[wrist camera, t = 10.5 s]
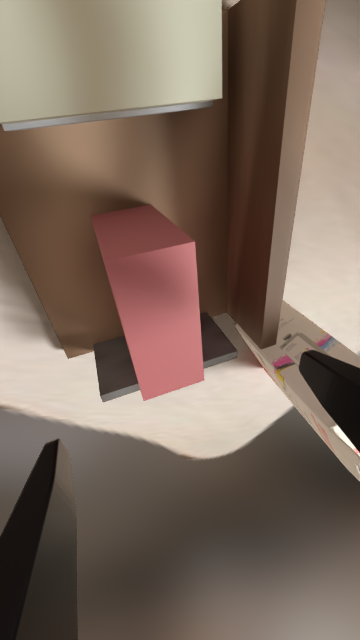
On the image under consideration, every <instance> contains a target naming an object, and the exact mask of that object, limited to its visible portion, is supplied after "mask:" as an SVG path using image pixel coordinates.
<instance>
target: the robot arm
mask: <svg viewBox="0 0 360 640" xmlns="http://www.w3.org/2000/svg"><path fill="white" fill-rule="evenodd" d="M299 372H300V374H301V375H302V377H303V378H304V380H305V381H306V383H307V384H308V386H309V387H310V389H311V390H312V392H313V393H314V395H315V396H316V398H317V399H318V401H319V402H320V404H321V405H322V407H323V408H324V409H325V410H326V412H327V413H328V414H329V415H330V417H331V418H332V419H333V420H334V422H335V423H336V424H337V425H338V427H339V428H340V429H341V430H342V432H343V433H344V434H345V435H346V436H347V438H348V439H349V440H350V441H351V443H352V444H353V445H354V446H355V448H356V449H357V450H358V451H359V453H360V368H359V367H356V366H354V365H351V364H349V363H346V362H344V361H341V360H339V359H336V358H334V357H331V356H329V355H326V354H323V353H321V352H318V351H316V350H308V351H305V352H303V353H302V354H301V358H300V362H299ZM76 516H77V515H76V500H75V492H74V485H73V477H72V468H71V459H70V455H69V452H68V450H67V449H66V447H65V446H64V444H63V442H62V441H61V440H60V439H55V440H52V441H49V442H47V443H46V444H45V445H44V447H43V449H42V451H41V453H40V455H39V457H38V459H37V461H36V463H35V465H34V467H33V469H32V471H31V473H30V475H29V478H28V480H27V482H26V484H25V486H24V488H23V490H22V492H21V494H20V496H19V498H18V500H17V502H16V504H15V506H14V508H13V510H12V513H11V514H10V517H9V519H8V521H7V523H6V525H5V527H4V529H3V531H2V533H1V535H0V640H78V615H77V614H78V612H77V611H78V610H77V517H76Z"/></svg>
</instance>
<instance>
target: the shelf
mask: <svg viewBox="0 0 360 640" xmlns="http://www.w3.org/2000/svg"><path fill="white" fill-rule="evenodd" d="M325 3H326V0H240V1H239V2H238V3H236V4H235V5H234V6H232V7H231V8H230V9H228V10H222V0H0V216H1V218H2V220H3V222H4V224H5V226H6V229H7V231H8V233H9V235H10V237H11V239H12V241H13V243H14V246H15V248H16V250H17V252H18V254H19V256H20V258H21V260H22V262H23V265H24V267H25V269H26V271H27V273H28V275H29V277H30V279H31V281H32V284H33V286H34V288H35V290H36V292H37V294H38V296H39V298H40V300H41V303H42V305H43V307H44V309H45V311H46V313H47V315H48V317H49V319H50V322H51V324H52V326H53V328H54V330H55V332H56V334H57V336H58V338H59V341H60V343H61V345H62V347H63V349H64V351H65V353H66V355H67V357H68V359H69V358H72V357H76V356H79V355H83V354H86V353H89V352H93V351H94V353H95V360H96V368H97V375H98V382H99V390H100V396H101V399H102V401H103V402H106V401H109V400H112V399H115V398H118V397H121V396H124V395H127V394H130V393H133V392H136V391H138V390H140V387H139V383H138V380H137V377H136V373H135V370H134V366H133V363H132V360H131V356H130V353H129V349H128V346H127V343H126V339H125V336H124V332H123V329H122V325H121V322H120V318H119V315H118V311H117V308H116V304H115V301H114V297H113V294H112V290H111V286H110V283H109V279H108V276H107V272H106V269H105V265H104V262H103V258H102V254H101V251H100V247H99V244H98V240H97V237H96V233H95V230H94V226H93V223H92V219H91V215H97V214H102V213H107V212H113V211H118V210H123V209H129V208H134V207H140V206H145V205H150V204H151V205H152V206H153V207H154V208H156V209H157V210H158V211H159V212H160V213H162V214H163V215H164V216H165V217H166V218H168V219H169V220H170V221H171V222H172V223H174V224H175V225H176V226H177V227H178V228H180V229H181V230H182V231H183V232H184V233H185V234H187V235H188V236H189V237H190V238H191V239H193V240H194V241H195V249H196V264H197V279H198V294H199V309H200V324H201V339H202V355H203V369H204V368H207V367H210V366H213V365H216V364H219V363H222V362H225V361H228V360H231V359H234V358H237V350H236V349H235V347H234V346H233V345H232V343H231V342H230V341H229V340H228V338H227V337H226V336H225V335H224V333H223V332H222V331H221V330H220V328H219V327H218V326H217V325H216V323H215V322H214V321H213V319H212V318H211V317H212V316H216V315H219V314H223V313H226V312H227V313H228V314H229V315H230V316H231V317H232V318H233V319H234V321H235V322H236V323H237V324H238V325H239V326H240V327H241V328H242V329H243V331H244V332H245V333H246V334H247V335H248V336H249V337H250V338H251V339H252V341H253V342H254V343H255V344H256V345H257V346H258V347H259V348H260V349H264V348H267V347H270V346H273V345H276V341H277V334H278V327H279V320H280V313H281V306H282V299H283V292H284V286H285V279H286V272H287V265H288V258H289V251H290V244H291V237H292V230H293V223H294V217H295V210H296V203H297V196H298V189H299V182H300V175H301V168H302V161H303V155H304V148H305V141H306V134H307V127H308V120H309V113H310V106H311V99H312V93H313V86H314V79H315V72H316V65H317V58H318V51H319V44H320V37H321V30H322V24H323V17H324V10H325Z"/></svg>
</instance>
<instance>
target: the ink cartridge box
mask: <svg viewBox="0 0 360 640" xmlns="http://www.w3.org/2000/svg"><path fill="white" fill-rule="evenodd" d="M235 326H236V328H237V330H238V331H239V333H240V334H241V336H242V337H243V339H244V340H245V342H246V343H247V345H248V346H249V348H250V349H251V351H252V352H253V354H254V355H255V357H256V358H257V360H258V361H259V362H260V364H261V365H262V367H263V368H264V370H265V371H266V372H267V374H268V375H269V376H270V377H271V378H272V380H273V381H274V382H275V383H276V384H277V386H278V387H279V388H280V389H281V390H282V392H283V393H284V394H285V395H286V396H287V398H288V399H289V400H290V401H291V402H292V404H293V405H294V406H295V407H296V408H297V410H298V411H299V412H300V413H301V414H302V416H303V417H304V418H305V419H306V420H307V421H308V423H309V424H310V425H311V426H312V427H313V429H314V430H315V431H316V432H317V433H318V435H319V436H320V437H321V438H322V439H323V441H324V442H325V443H326V444H327V445H328V446H329V448H330V449H331V450H332V451H333V453H334V454H335V455H336V456H337V457H338V459H339V460H340V461H341V462H342V463H343V464H344V466H345V467H346V468H347V469H348V470H349V471H350V472H351V473H352V474H353V475H354V476H355V477H356V478H357V479H358V480H359V481H360V472H359V469H358V467H359V468H360V453H359V451H358V450H357V449H356V448H355V446H354V445H353V444H352V443H351V441H350V440H349V439H348V438H347V436H346V435H345V434H344V433H343V432H342V430H341V429H340V428H339V427H338V425H337V424H336V423H335V422H334V420H333V419H332V418H331V417H330V415H329V414H328V413H327V412H326V410H325V409H324V408H323V407H322V405H321V404H320V402H319V401H318V399H317V398H316V396H315V395H314V393H313V392H312V390H311V389H310V387H309V386H308V384H307V383H306V381H305V380H304V378H303V377H302V375H301V374H300V372H299V362H300V358H301V354H302V353H303V352H305V351H308V350H316V351H318V352H321V353H323V354H326V355H329V356H331V357H334V358H336V359H339V360H341V361H344V362H346V363H349V364H351V365H354V366H356V367H359V368H360V357H359V356H358V355H356V354H355V353H354V352H352V351H351V350H350V349H348V348H347V347H346V346H344V345H343V344H342V343H340V342H339V341H337V340H336V339H335V338H333V337H332V336H331V335H329V334H328V333H327V332H325V331H324V330H322V329H321V328H320V327H318V326H317V325H316V324H314V323H313V322H312V321H310V320H309V319H308V318H306V317H305V316H304V315H302V314H301V313H300V312H298V311H297V310H296V309H294V308H293V307H291V306H290V305H289V304H287V303H286V302H285V301H283V300H282V306H281V313H280V320H279V327H278V334H277V341H276V345H273V346H270V347H267V348H264V349H260V348H259V347H258V346H257V345H256V344H255V343H254V342H253V341H252V339H251V338H250V337H249V336H248V335H247V334H246V333H245V332H244V331H243V329H242V328H241V327H240V326H239V325H238V324H236V325H235Z"/></svg>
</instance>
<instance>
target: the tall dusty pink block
mask: <svg viewBox="0 0 360 640" xmlns="http://www.w3.org/2000/svg"><path fill="white" fill-rule="evenodd" d="M91 219H92V223H93V226H94V230H95V233H96V237H97V240H98V244H99V247H100V251H101V254H102V258H103V262H104V265H105V269H106V272H107V276H108V279H109V283H110V286H111V290H112V294H113V297H114V301H115V304H116V308H117V311H118V315H119V318H120V322H121V325H122V329H123V332H124V336H125V339H126V343H127V346H128V349H129V353H130V356H131V360H132V363H133V366H134V370H135V373H136V377H137V380H138V383H139V387H140V390H141V394H142V397H143V400H144V401H145V400H148V399H151V398H154V397H157V396H160V395H163V394H165V393H168V392H171V391H174V390H177V389H180V388H183V387H186V386H189V385H192V384H195V383H198V382H201V381H203V380H204V370H203V355H202V339H201V324H200V309H199V294H198V279H197V264H196V249H195V241H194V240H193V239H191V238H190V237H189V236H188V235H187V234H185V233H184V232H183V231H182V230H181V229H180V228H178V227H177V226H176V225H175V224H174V223H172V222H171V221H170V220H169V219H168V218H166V217H165V216H164V215H163V214H162V213H160V212H159V211H158V210H157V209H156V208H154V207H153V206H152V205H151V204H150V205H145V206H140V207H134V208H129V209H123V210H118V211H113V212H107V213H102V214H97V215H91Z"/></svg>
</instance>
